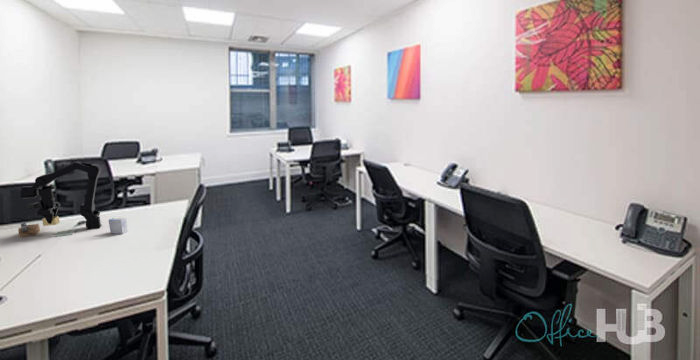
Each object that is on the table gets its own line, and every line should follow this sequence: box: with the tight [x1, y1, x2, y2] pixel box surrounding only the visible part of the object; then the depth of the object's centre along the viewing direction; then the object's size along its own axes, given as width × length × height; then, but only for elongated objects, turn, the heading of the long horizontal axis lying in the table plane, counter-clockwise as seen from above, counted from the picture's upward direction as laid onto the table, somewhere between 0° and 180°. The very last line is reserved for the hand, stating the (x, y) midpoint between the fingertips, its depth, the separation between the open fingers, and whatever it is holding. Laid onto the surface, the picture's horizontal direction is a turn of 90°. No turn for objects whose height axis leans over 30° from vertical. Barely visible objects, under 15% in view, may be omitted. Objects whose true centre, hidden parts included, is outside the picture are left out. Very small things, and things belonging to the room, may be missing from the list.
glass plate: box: [54, 229, 76, 238], centre depth 196 cm, size 8×7×1 cm
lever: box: [20, 222, 29, 232], centre depth 189 cm, size 11×3×2 cm, turn 47°
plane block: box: [17, 223, 41, 238], centre depth 195 cm, size 7×7×4 cm
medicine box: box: [108, 216, 129, 235], centre depth 198 cm, size 8×4×9 cm, turn 84°
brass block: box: [41, 215, 60, 227], centre depth 197 cm, size 6×4×4 cm
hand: (51, 222), depth 197 cm, fingers closed on brass block, 5 cm apart
